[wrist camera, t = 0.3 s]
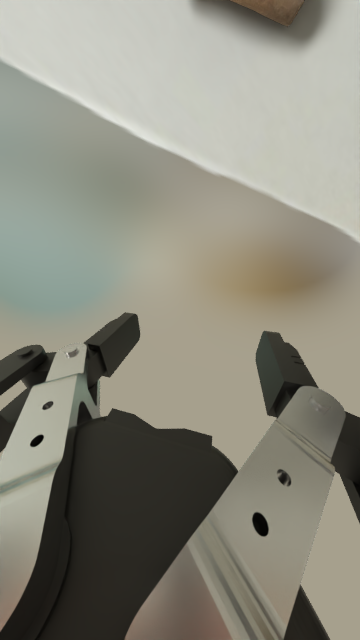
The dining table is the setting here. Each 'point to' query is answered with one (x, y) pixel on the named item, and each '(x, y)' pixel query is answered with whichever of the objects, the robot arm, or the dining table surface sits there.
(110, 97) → the dining table surface
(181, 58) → the dining table surface
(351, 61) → the dining table surface
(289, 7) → the pipe
